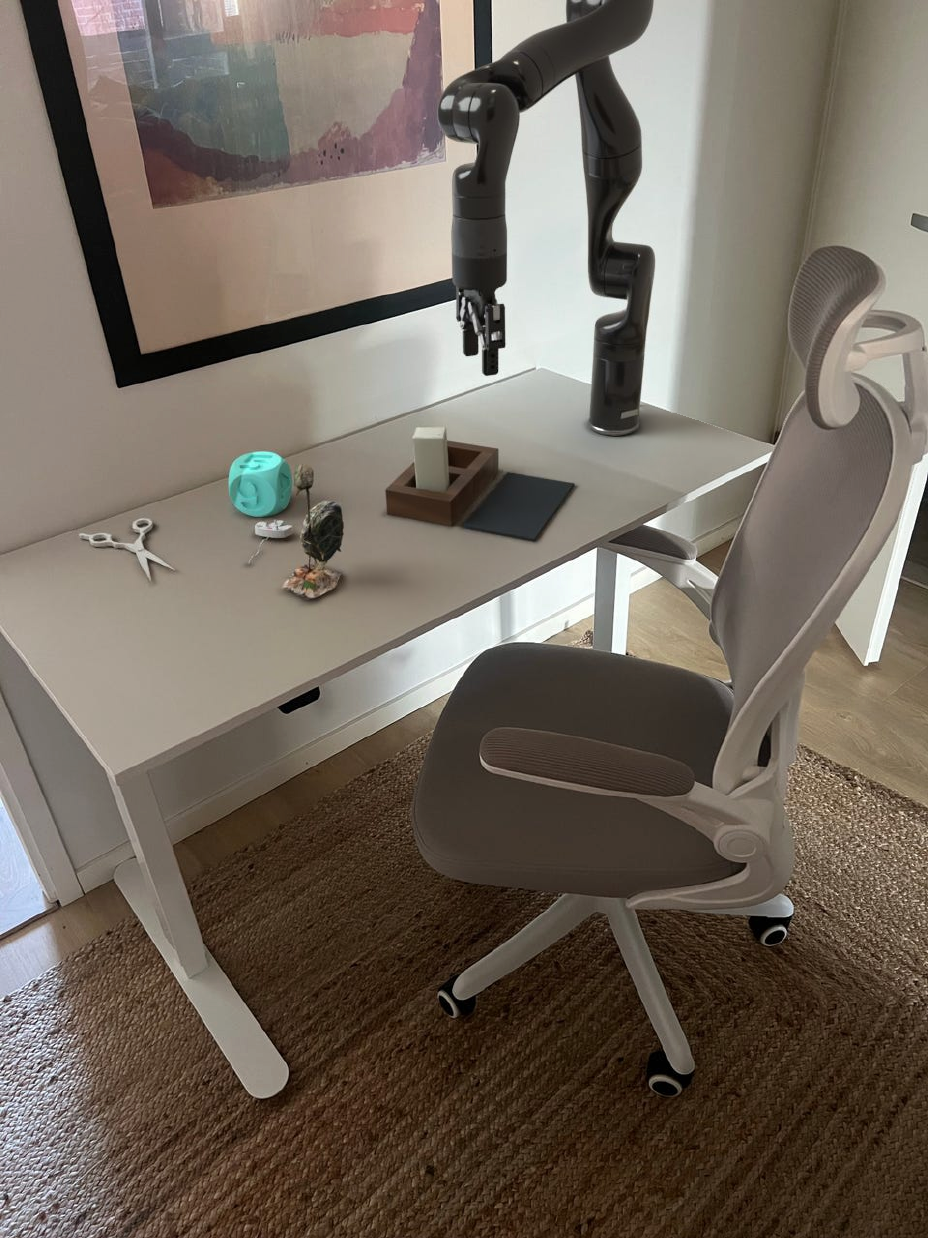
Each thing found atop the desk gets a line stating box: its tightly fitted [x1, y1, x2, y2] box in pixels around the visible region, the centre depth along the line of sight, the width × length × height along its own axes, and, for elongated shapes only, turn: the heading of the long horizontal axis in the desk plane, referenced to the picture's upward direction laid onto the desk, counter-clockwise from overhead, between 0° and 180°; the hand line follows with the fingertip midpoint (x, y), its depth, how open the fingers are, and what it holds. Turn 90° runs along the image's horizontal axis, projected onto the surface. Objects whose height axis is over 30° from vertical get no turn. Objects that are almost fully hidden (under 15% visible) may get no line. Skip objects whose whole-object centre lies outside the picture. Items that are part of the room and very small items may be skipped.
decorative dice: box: [228, 451, 293, 518], centre depth 161 cm, size 8×8×8 cm
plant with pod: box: [281, 463, 345, 601], centre depth 138 cm, size 8×11×20 cm
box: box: [411, 426, 450, 493], centre depth 158 cm, size 5×4×13 cm
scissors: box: [78, 518, 176, 581], centre depth 151 cm, size 11×1×20 cm
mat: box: [462, 471, 575, 542], centre depth 161 cm, size 20×12×1 cm, turn 157°
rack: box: [384, 439, 499, 527], centre depth 164 cm, size 21×11×4 cm, turn 157°
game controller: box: [248, 519, 293, 565], centre depth 151 cm, size 6×12×3 cm, turn 2°
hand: (480, 364), depth 143 cm, fingers open, 8 cm apart
